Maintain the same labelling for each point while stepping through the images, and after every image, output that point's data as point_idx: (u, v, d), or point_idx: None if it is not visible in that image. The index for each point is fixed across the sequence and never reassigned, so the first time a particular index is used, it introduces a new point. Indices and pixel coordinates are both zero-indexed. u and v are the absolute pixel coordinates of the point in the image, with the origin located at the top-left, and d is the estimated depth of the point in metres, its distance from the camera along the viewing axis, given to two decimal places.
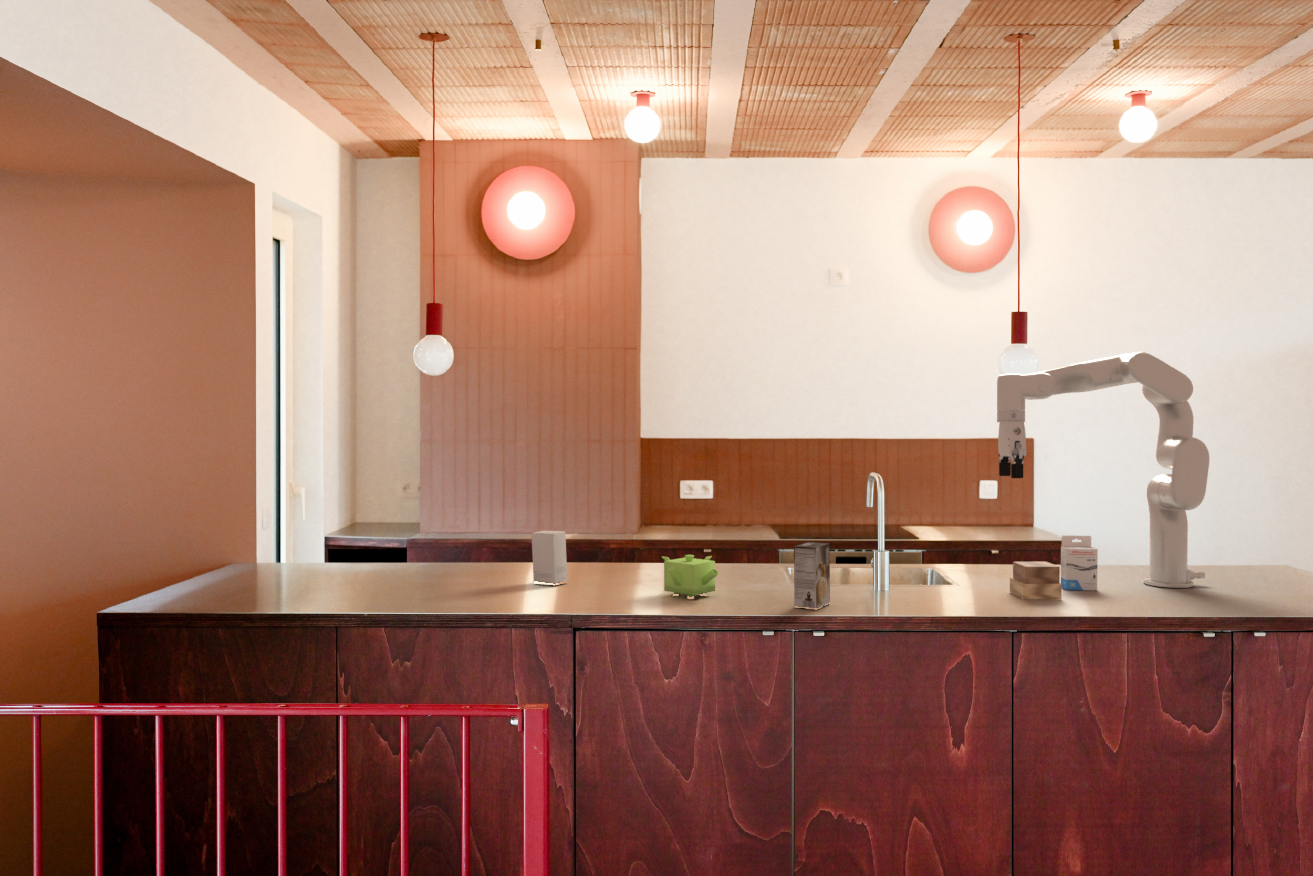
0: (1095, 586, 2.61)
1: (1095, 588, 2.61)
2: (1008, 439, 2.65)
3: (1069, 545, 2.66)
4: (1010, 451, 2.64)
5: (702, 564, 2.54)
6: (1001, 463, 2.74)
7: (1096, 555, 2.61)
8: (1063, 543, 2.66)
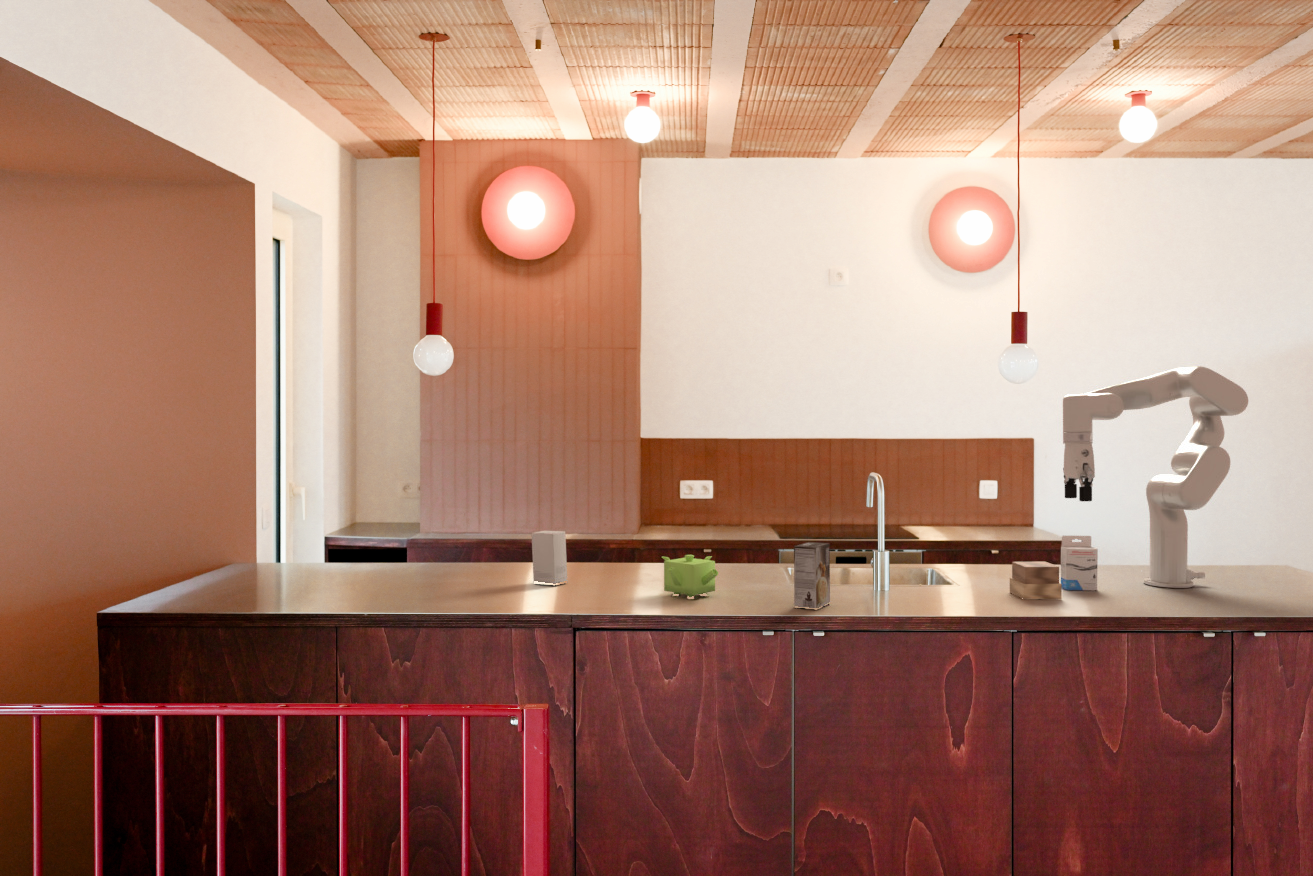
0: (1095, 586, 2.61)
1: (1095, 588, 2.61)
2: (1076, 461, 2.59)
3: (1069, 545, 2.66)
4: (1078, 474, 2.59)
5: (702, 564, 2.54)
6: (1067, 485, 2.68)
7: (1096, 555, 2.61)
8: (1063, 543, 2.66)
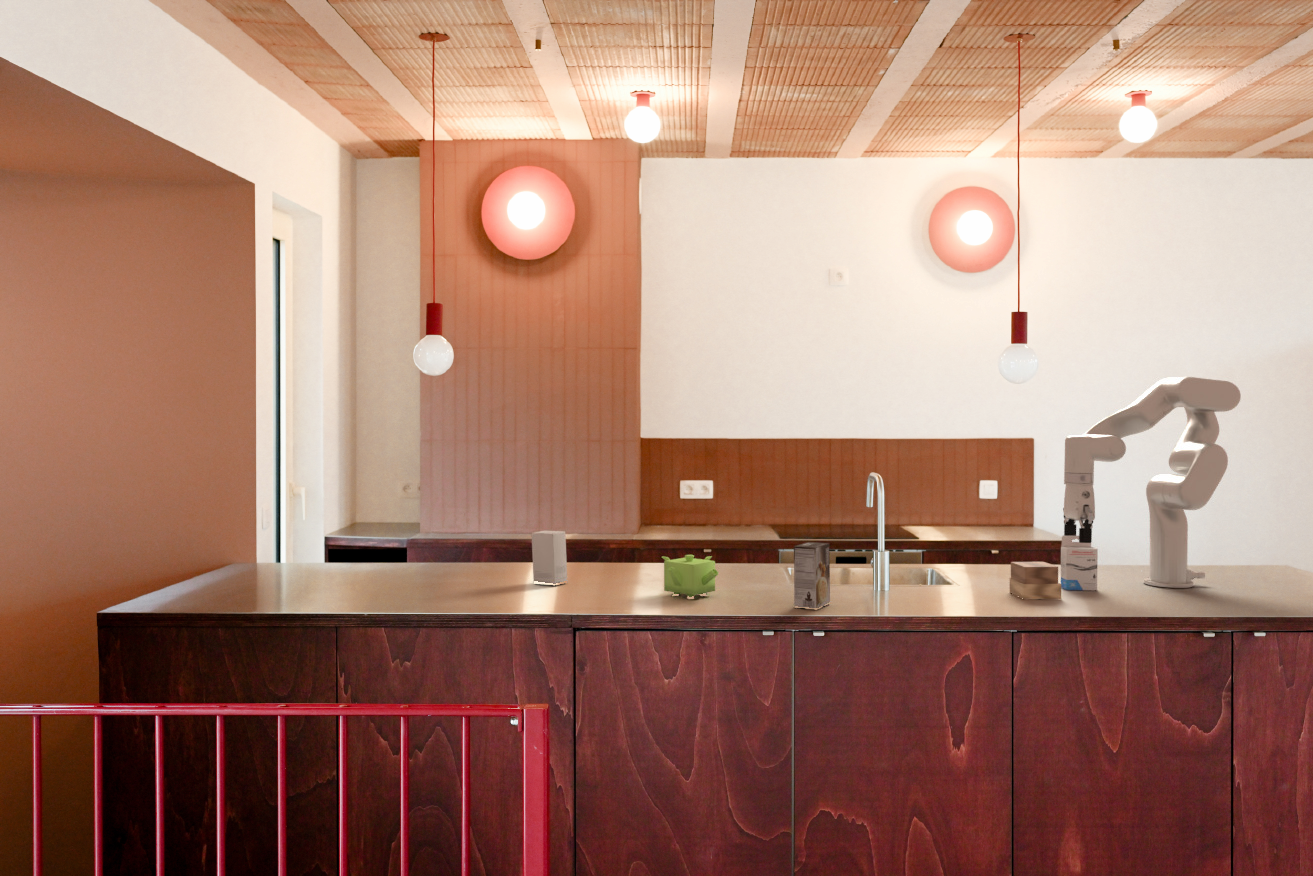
0: (1095, 586, 2.61)
1: (1095, 588, 2.61)
2: (1076, 502, 2.59)
3: (1069, 545, 2.66)
4: (1078, 515, 2.59)
5: (702, 564, 2.54)
6: (1066, 525, 2.68)
7: (1096, 555, 2.61)
8: (1063, 543, 2.66)
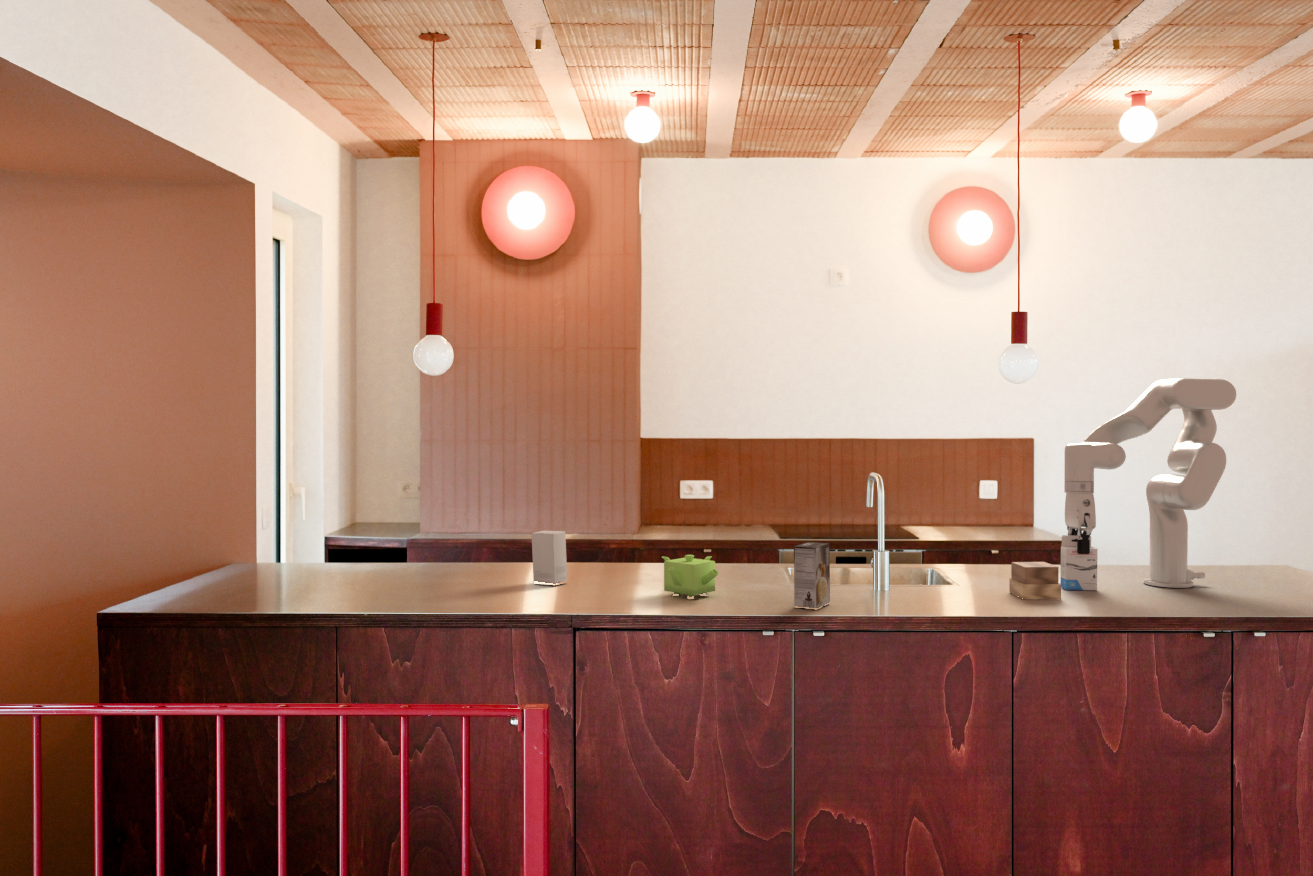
0: (1095, 586, 2.61)
1: (1095, 588, 2.61)
2: (1077, 511, 2.59)
3: (1069, 545, 2.66)
4: (1079, 523, 2.59)
5: (702, 564, 2.54)
6: None
7: (1096, 555, 2.61)
8: (1062, 543, 2.66)
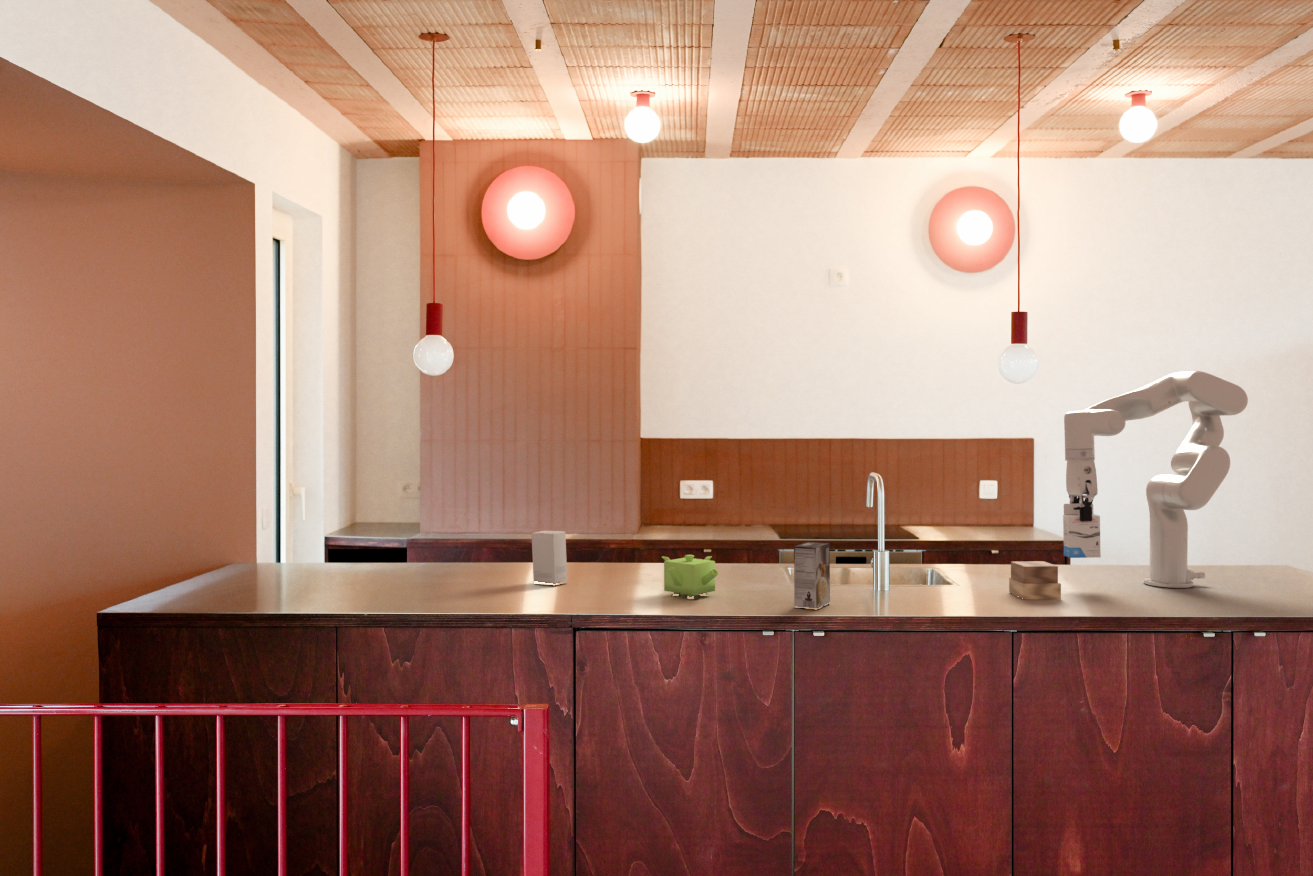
0: (1098, 553, 2.61)
1: (1098, 555, 2.61)
2: (1078, 478, 2.59)
3: (1071, 513, 2.66)
4: (1081, 491, 2.59)
5: (702, 564, 2.54)
6: None
7: (1098, 522, 2.61)
8: (1065, 511, 2.66)
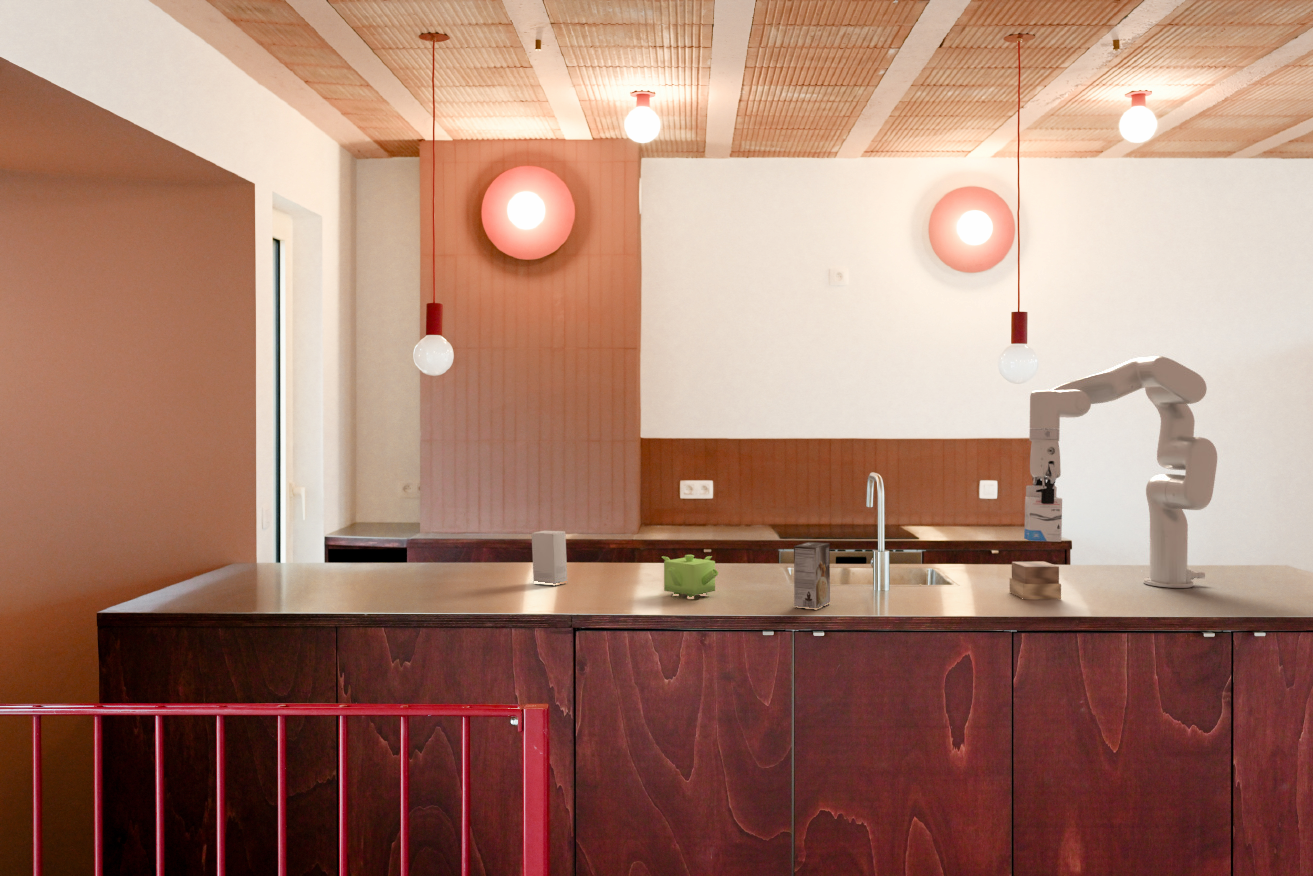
0: (1059, 537, 2.53)
1: (1059, 539, 2.53)
2: (1041, 459, 2.51)
3: (1034, 495, 2.58)
4: (1043, 472, 2.51)
5: (702, 564, 2.54)
6: None
7: (1061, 505, 2.53)
8: (1027, 493, 2.58)
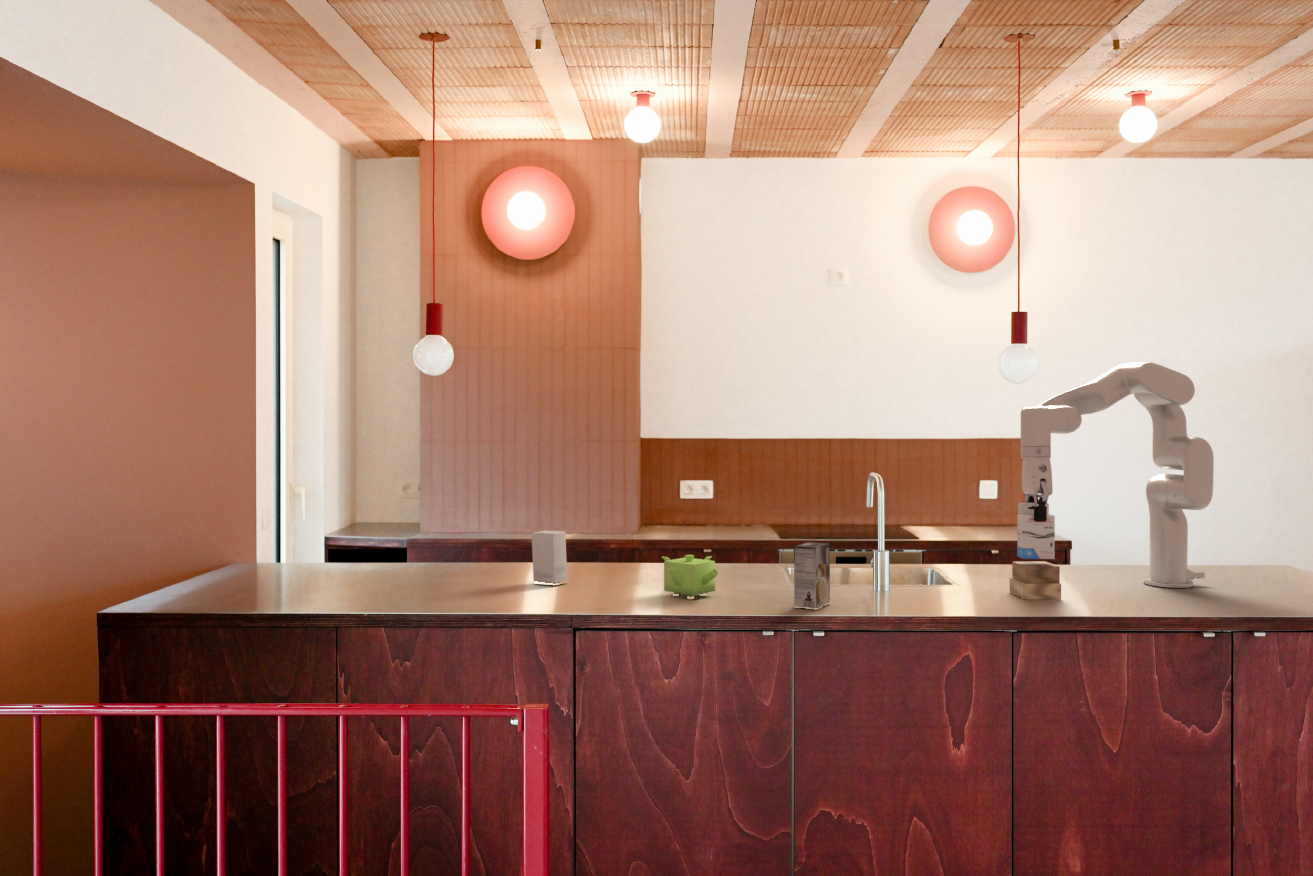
0: (1052, 554, 2.51)
1: (1052, 557, 2.51)
2: (1033, 477, 2.49)
3: (1026, 513, 2.56)
4: (1035, 489, 2.49)
5: (702, 564, 2.54)
6: None
7: (1053, 522, 2.51)
8: (1019, 510, 2.56)
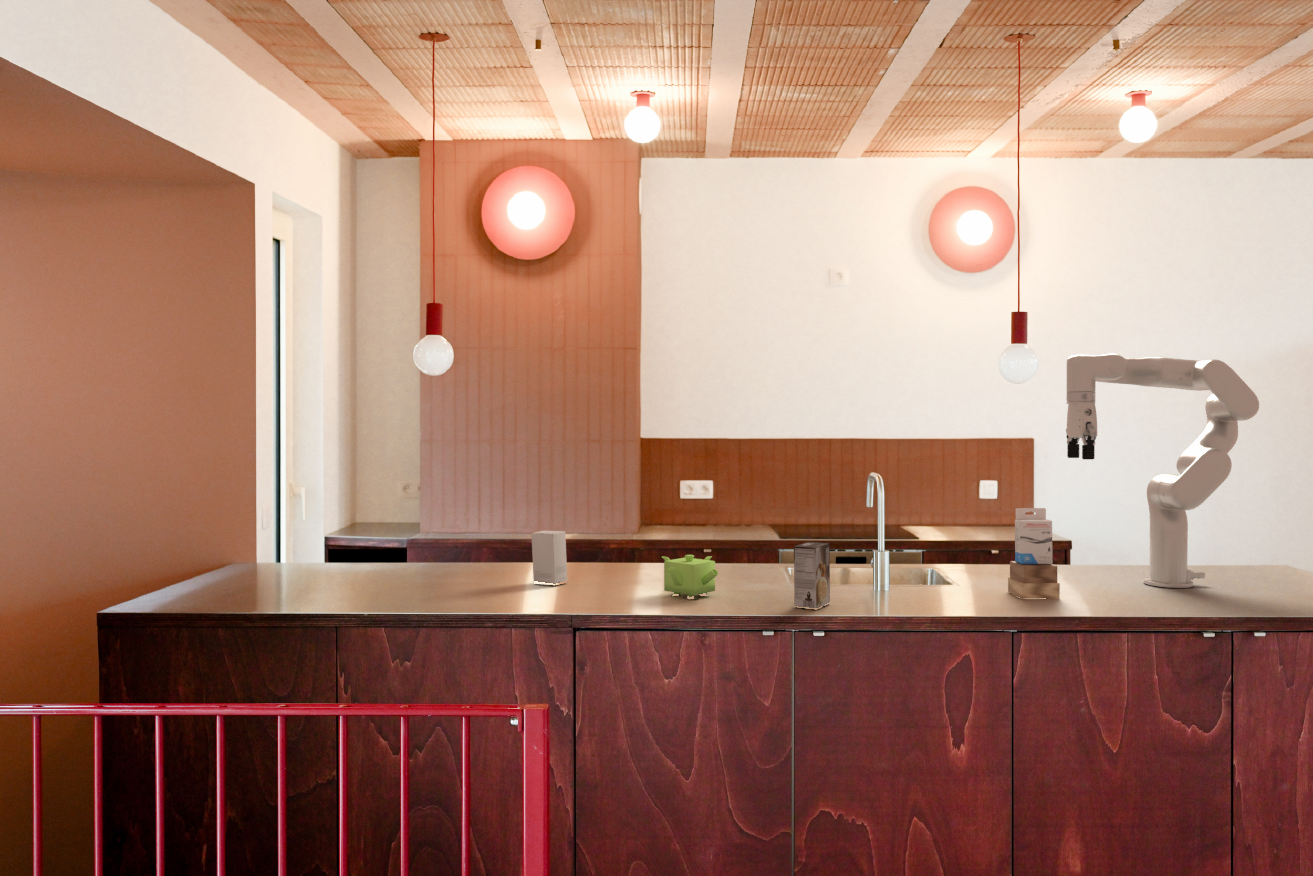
0: (1050, 559, 2.52)
1: (1050, 561, 2.52)
2: (1079, 420, 2.65)
3: (1023, 518, 2.57)
4: (1081, 432, 2.64)
5: (702, 564, 2.54)
6: (1070, 445, 2.73)
7: (1051, 527, 2.52)
8: (1016, 516, 2.57)
